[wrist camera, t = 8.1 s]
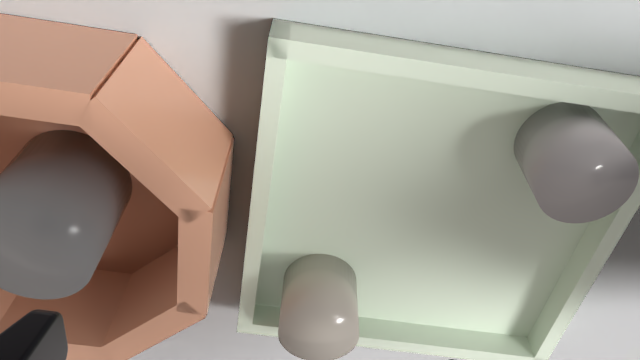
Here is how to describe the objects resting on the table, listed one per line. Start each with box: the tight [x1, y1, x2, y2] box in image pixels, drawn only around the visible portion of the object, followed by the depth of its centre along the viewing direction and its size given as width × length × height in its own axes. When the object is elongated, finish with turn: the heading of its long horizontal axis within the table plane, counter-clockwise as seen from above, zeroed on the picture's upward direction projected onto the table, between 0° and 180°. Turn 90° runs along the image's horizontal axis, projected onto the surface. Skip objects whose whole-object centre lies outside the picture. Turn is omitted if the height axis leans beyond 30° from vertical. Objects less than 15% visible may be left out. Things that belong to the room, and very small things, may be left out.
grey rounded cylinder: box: [0, 130, 132, 300], centre depth 19 cm, size 4×4×4 cm
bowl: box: [0, 13, 234, 360], centre depth 19 cm, size 11×11×4 cm
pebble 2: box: [514, 102, 639, 223], centre depth 18 cm, size 3×3×3 cm
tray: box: [237, 18, 640, 360], centre depth 21 cm, size 13×13×2 cm
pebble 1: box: [278, 254, 359, 360], centre depth 22 cm, size 3×3×3 cm
